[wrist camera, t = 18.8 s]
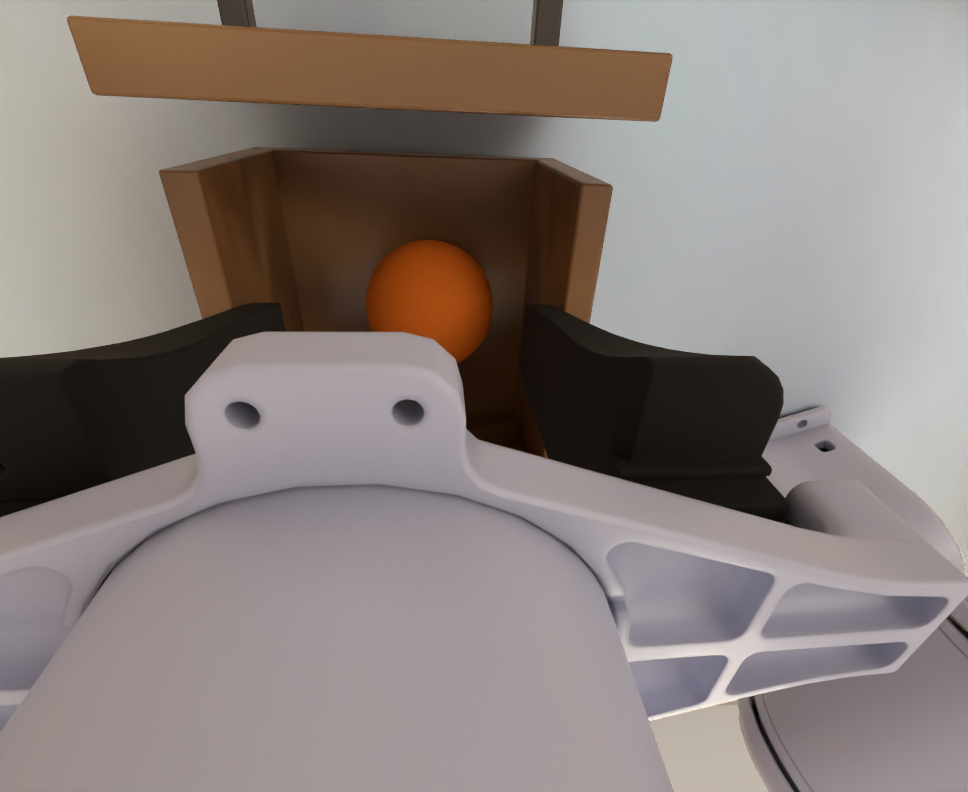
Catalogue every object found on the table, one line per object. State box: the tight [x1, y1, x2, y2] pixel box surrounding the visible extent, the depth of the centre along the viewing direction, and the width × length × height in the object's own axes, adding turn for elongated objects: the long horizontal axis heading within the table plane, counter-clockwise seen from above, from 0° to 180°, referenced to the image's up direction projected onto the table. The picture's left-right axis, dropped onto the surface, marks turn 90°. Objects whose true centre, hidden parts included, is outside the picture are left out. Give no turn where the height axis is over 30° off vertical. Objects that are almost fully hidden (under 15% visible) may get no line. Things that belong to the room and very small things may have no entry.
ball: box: [366, 240, 493, 363], centre depth 16 cm, size 4×4×4 cm
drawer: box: [67, 0, 672, 459], centre depth 14 cm, size 18×11×7 cm, turn 178°
